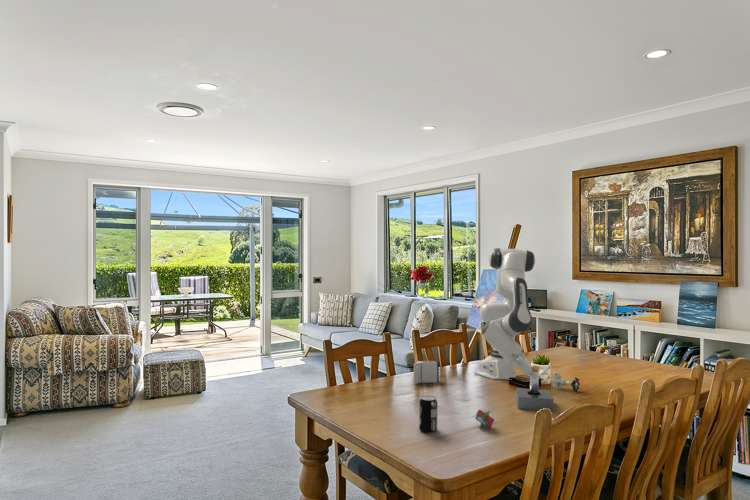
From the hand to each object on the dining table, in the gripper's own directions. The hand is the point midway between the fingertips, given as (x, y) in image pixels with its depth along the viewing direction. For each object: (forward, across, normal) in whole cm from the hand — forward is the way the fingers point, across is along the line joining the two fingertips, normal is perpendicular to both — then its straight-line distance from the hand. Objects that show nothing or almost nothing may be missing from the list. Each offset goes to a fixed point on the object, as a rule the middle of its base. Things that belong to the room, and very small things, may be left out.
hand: (535, 376), depth 216 cm
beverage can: (-21, -41, +39) cm, 60 cm away
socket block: (+8, 0, +9) cm, 12 cm away
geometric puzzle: (-6, -33, +24) cm, 42 cm away
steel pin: (+4, 0, +5) cm, 7 cm away
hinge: (-27, +27, +44) cm, 59 cm away
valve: (+20, +30, -3) cm, 36 cm away
